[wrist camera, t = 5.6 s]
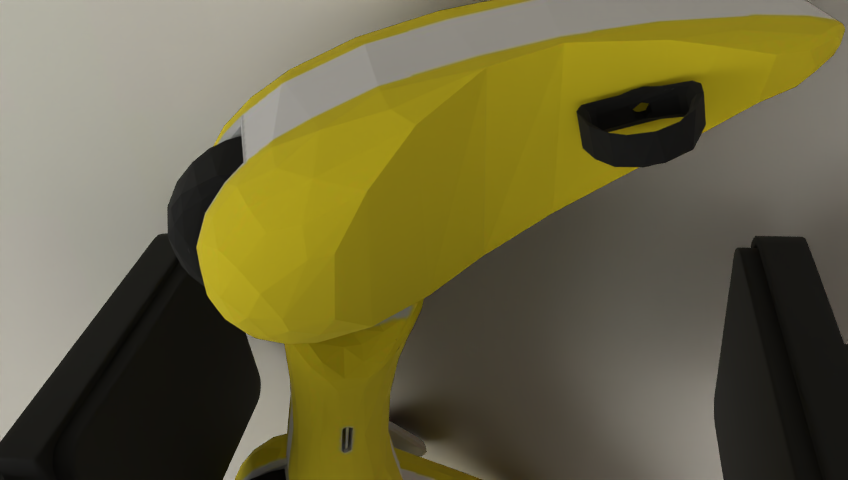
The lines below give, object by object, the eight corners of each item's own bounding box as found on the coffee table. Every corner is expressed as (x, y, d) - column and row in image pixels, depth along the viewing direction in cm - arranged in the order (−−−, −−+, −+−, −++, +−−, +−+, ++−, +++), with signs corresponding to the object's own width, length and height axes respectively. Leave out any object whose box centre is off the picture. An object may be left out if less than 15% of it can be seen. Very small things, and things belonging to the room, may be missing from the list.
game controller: (147, -80, 8) (114, 75, 5) (713, -69, 9) (920, 59, 7) (222, 505, 14) (225, 717, 11) (559, 459, 15) (634, 639, 13)
